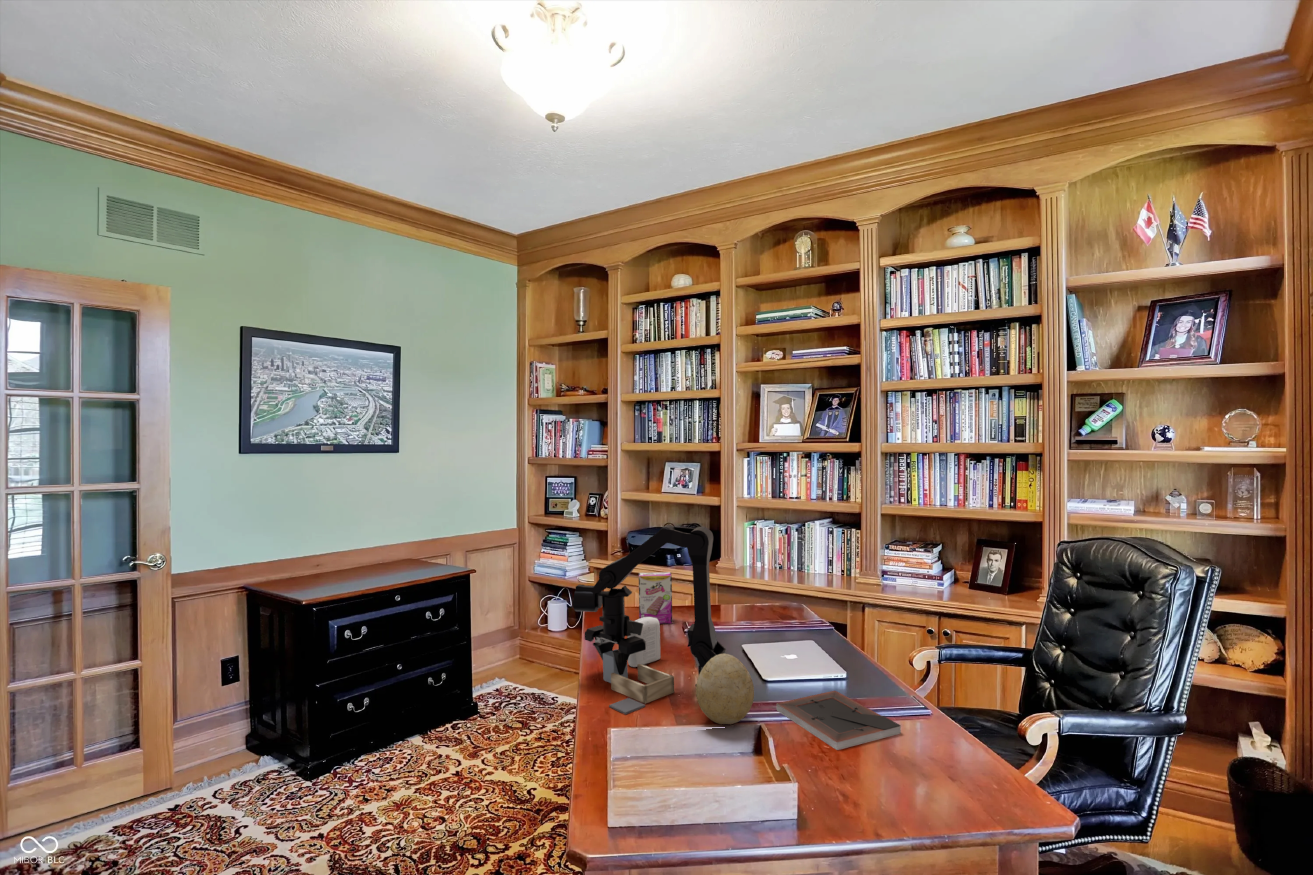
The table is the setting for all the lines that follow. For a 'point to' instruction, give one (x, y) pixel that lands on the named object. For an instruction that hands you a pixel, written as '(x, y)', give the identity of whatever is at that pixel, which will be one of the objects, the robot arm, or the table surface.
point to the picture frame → (838, 719)
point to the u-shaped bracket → (655, 687)
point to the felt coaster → (627, 706)
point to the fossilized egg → (725, 689)
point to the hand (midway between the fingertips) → (615, 672)
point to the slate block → (611, 666)
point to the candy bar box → (656, 596)
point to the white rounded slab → (647, 642)
